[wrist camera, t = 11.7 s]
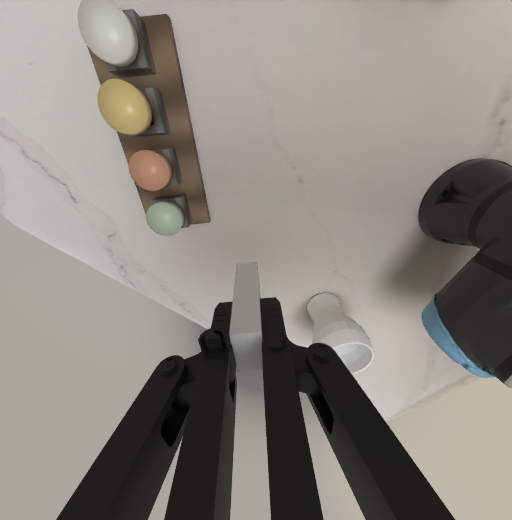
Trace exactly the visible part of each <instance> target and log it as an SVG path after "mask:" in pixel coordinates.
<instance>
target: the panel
mask: <svg viewBox="0 0 512 520" xmlns="http://www.w3.org/2000/svg"><path fill="white" fill-rule="evenodd" d="M122 11H123V12H124V13H125V14H126V15H127V16H128V18H129V19H130V20H131V22H132V24H133V26H134V28H135V31H136V34H137V38H138V52H137V57H136V58H135V60H134V61H133V62H132V63H131V64H130V65H129V66H126V67H116V66H113V65H111V64H109V63H108V62H106V61H104V60H102V59H101V58H99V57H98V56H96V55H95V54H94V53H93V52H92V51H91V50H90V49H89V47H88V46H87V47H88V49H89V52H90V55H91V58H92V61H93V64H94V67H95V70H96V73H97V75H98V78H99V81H100V84H101V85H102V84H103V83H104V82H105V81H107V80H109V79H121V80H123V81H126V82H128V83H130V84H132V85H134V86H135V87H137V88H138V89H139V90H140V91H141V92H142V93H143V94H144V95H145V96H146V98H147V100H148V102H149V104H150V107H151V111H152V118H153V122H154V123H151V124H150V126H149V128H148V129H147V130H146V131H145V132H144V133H141V134H138V135H133V134H124V133H121V132H118V131H117V133H118V136H119V139H120V142H121V145H122V147H123V150H124V153H125V156H126V159H127V162H128V165H129V161H130V158H131V156H132V155H133V154H134V153H136V152H138V151H141V150H154V151H157V152H159V153H161V154H162V155H163V156H164V157H165V158H166V159H167V160H168V162H169V163H170V166H171V169H172V178H171V181H170V182H169V184H168V185H167V186H165V187H163V188H161V189H160V190H157V191H149V190H146V189H143V188H142V187H140V186H139V185H138V184H137V183H136V182H135V181H134V182H135V185H136V188H137V191H138V193H139V196H140V199H141V202H142V205H143V208H144V211H145V214H146V213H147V210H148V209H149V208H150V207H151V206H152V205H154V204H155V203H157V202H159V201H162V200H166V201H171V202H173V203H175V204H176V205H177V206H178V207H179V208H180V209H181V210H182V212H183V215H184V223H183V225H182V227H181V228H185V227H189V226H190V224H200V223H209V222H210V215H209V210H208V205H207V200H206V195H205V190H204V185H203V180H202V175H201V170H200V165H199V160H198V155H197V150H196V144H195V139H194V134H193V129H192V124H191V119H190V114H189V109H188V104H187V99H186V94H185V89H184V84H183V79H182V74H181V69H180V64H179V59H178V54H177V49H176V44H175V39H174V34H173V28H172V23H171V20H170V18H169V16H168V15H167V14H162V15H153V16H144V17H139V15H138V14H137V13H136V12H135V11H134V10H133V9H129V10H122Z"/></svg>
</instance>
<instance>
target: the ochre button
mask: <svg viewBox="0 0 512 520" xmlns="http://www.w3.org/2000/svg"><path fill="white" fill-rule="evenodd" d="M98 106H99V109H100V112H101V114H102V116H103V118H104V119H105V121H106V122H107V123H108V124H109V125H110V126H111V127H112V128H113V129H115V130H116V131H118V132H121V133H124V134H133V135H138V134H141V133H144V132H145V131H146V130H147V129H148V128H149V126H150V124H151V123H154V122H153V118H152V111H151V107H150V104H149V102H148V100H147V98H146V96H145V95H144V94H143V93H142V92H141V91H140V90H139V89H138V88H137V87H135V86H134V85H132V84H130V83H128V82H126V81H123V80H121V79H109V80H107V81H105V82H104V83H103V84H102V85H101V86H100V88H99V91H98Z"/></svg>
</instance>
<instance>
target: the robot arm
mask: <svg viewBox="0 0 512 520" xmlns="http://www.w3.org/2000/svg"><path fill="white" fill-rule="evenodd" d="M419 222H420V226H421V228H422V230H423V231H424V232H425V233H426V234H427V235H429V236H430V237H432V238H434V239H436V240H438V241H441V242H444V243H452V244H459V245H467V246H475V247H477V248H480V249H481V250H480V251H479V252H478V253H477V254H476V255H475V256H474V257H473V258H472V259H471V260H470V261H469V262H468V263H467V264H466V265H465V266H464V267H463V268H462V269H461V270H460V271H459V272H458V273H457V274H456V275H455V276H454V277H453V278H452V279H451V280H450V281H449V282H448V283H447V284H446V285H445V286H444V287H443V288H442V289H441V290H440V291H439V292H438V293H436V294H435V295H434V296H433V298H432V300H431V301H430V303H429V304H428V305H427V306H426V307H425V308H424V310H423V312H422V321H423V325H424V327H425V329H426V331H427V332H428V334H429V335H430V337H431V338H432V339H433V340H434V342H435V343H436V344H437V345H438V346H439V347H440V348H441V349H442V350H443V351H444V352H445V353H446V354H447V355H448V356H449V357H450V358H451V359H453V360H454V361H455V362H456V363H459V364H461V365H462V366H463V367H464V368H465V369H466V370H468V371H469V372H471V373H473V374H475V375H477V376H480V377H484V378H488V377H497V378H498V379H499V380H500V381H501V382H503V383H504V384H505V385H506V386H508V387H511V388H512V166H511V165H509V164H508V163H506V162H503V161H499V160H492V159H473V160H469V161H466V162H463V163H461V164H458V165H456V166H455V167H453V168H451V169H450V170H448V171H447V172H445V173H444V174H443V175H442V176H441V177H440V178H438V179H437V180H436V181H435V183H434V184H433V185H432V186H431V187H430V189H429V190H428V192H427V193H426V195H425V197H424V199H423V201H422V204H421V207H420V211H419ZM198 341H199V344H200V347H201V350H202V351H201V352H200V353H199V354H197V355H195V356H193V357H190V358H187V359H183V358H182V357H180V356H178V355H175V356H170V357H168V358H166V359H164V360H163V361H161V362H160V364H159V365H158V366H157V367H156V369H155V370H154V372H153V373H152V375H151V376H150V378H149V379H148V381H147V382H146V384H145V386H144V387H143V389H142V390H141V392H140V393H139V395H138V396H137V398H136V399H135V401H134V402H133V404H132V405H131V407H130V408H129V410H128V411H127V413H126V414H125V416H124V417H123V419H122V420H121V422H120V423H119V425H118V427H117V428H116V430H115V431H114V433H113V434H112V436H111V437H110V439H109V440H108V442H107V443H106V445H105V446H104V448H103V449H102V451H101V452H100V454H99V456H98V457H97V459H96V460H95V462H94V463H93V464H92V466H91V468H90V469H89V471H88V472H87V474H86V475H85V477H84V478H83V480H82V481H81V483H80V484H79V486H78V487H77V489H76V490H75V492H74V493H73V495H72V496H71V498H70V500H69V501H68V502H67V504H66V506H65V507H64V509H63V510H62V512H61V513H60V515H59V516H58V518H57V519H56V520H148V518H149V515H150V513H151V510H152V508H153V506H154V503H155V501H156V499H157V496H158V494H159V491H160V489H161V486H162V484H163V482H164V479H165V477H166V475H167V472H168V470H169V467H170V465H171V463H172V460H173V458H174V456H175V453H176V451H177V449H178V446H179V444H180V441H181V439H182V443H181V447H180V452H179V456H178V460H177V465H176V469H175V474H174V478H173V483H172V487H171V492H170V496H169V501H168V505H167V510H166V514H165V518H164V520H230V509H231V488H232V468H233V449H234V428H235V409H236V389H237V380H236V375H235V374H236V369H237V371H246V370H258V369H263V381H264V400H265V418H266V436H267V453H268V472H269V488H270V489H269V490H270V507H271V520H323V515H322V510H321V504H320V500H319V494H318V489H317V484H316V479H315V474H314V469H313V463H312V458H311V453H310V448H309V443H308V438H307V433H306V428H305V422H304V417H303V413H302V407H301V402H300V397H299V391H300V392H303V393H306V394H307V396H308V398H309V400H310V402H311V404H312V407H313V409H314V411H315V413H316V415H317V417H318V419H319V421H320V424H321V426H322V428H323V430H324V432H325V434H326V436H327V438H328V441H329V443H330V445H331V447H332V449H333V451H334V453H335V455H336V458H337V460H338V462H339V464H340V466H341V468H342V470H343V472H344V474H345V477H346V479H347V481H348V483H349V485H350V487H351V489H352V492H353V494H354V496H355V498H356V500H357V502H358V504H359V506H360V509H361V511H362V513H363V515H364V517H365V519H366V520H455V519H454V517H453V516H452V515H451V513H450V512H449V510H448V509H447V508H446V506H445V505H444V503H443V502H442V501H441V499H440V498H439V496H438V495H437V493H436V492H435V491H434V489H433V488H432V487H431V485H430V484H429V482H428V481H427V479H426V478H425V477H424V475H423V474H422V472H421V471H420V470H419V468H418V467H417V466H416V464H415V463H414V461H413V460H412V458H411V457H410V456H409V454H408V453H407V451H406V450H405V449H404V447H403V446H402V444H401V443H400V442H399V440H398V439H397V437H396V436H395V435H394V433H393V432H392V430H391V429H390V427H389V426H388V425H387V423H386V422H385V420H384V419H383V418H382V416H381V415H380V413H379V412H378V411H377V409H376V408H375V406H374V405H373V404H372V402H371V401H370V399H369V398H368V397H367V395H366V394H365V392H364V391H363V390H362V388H361V387H360V385H359V384H358V383H357V381H356V380H355V378H354V377H353V375H352V374H351V373H350V371H349V370H348V368H347V367H346V366H345V364H344V363H343V361H342V360H341V359H340V357H339V356H338V354H337V353H336V352H335V350H334V349H333V348H332V347H331V346H329V345H327V344H324V343H314V344H312V345H310V346H309V347H308V348H306V347H301V346H298V345H295V344H293V343H292V342H291V341H289V339H288V338H287V335H286V331H285V326H284V321H283V315H282V310H281V305H280V302H279V301H278V300H277V298H276V297H274V298H262V299H261V298H260V286H259V277H258V267H257V262H252V263H241V264H237V266H236V275H235V284H234V294H233V302H223V303H219V304H218V305H217V307H216V308H215V311H214V317H213V322H212V325H211V329H208V330H206V331H204V332H203V333H202V334H201V335H200V337H199V339H198ZM182 437H183V438H182Z"/></svg>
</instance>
